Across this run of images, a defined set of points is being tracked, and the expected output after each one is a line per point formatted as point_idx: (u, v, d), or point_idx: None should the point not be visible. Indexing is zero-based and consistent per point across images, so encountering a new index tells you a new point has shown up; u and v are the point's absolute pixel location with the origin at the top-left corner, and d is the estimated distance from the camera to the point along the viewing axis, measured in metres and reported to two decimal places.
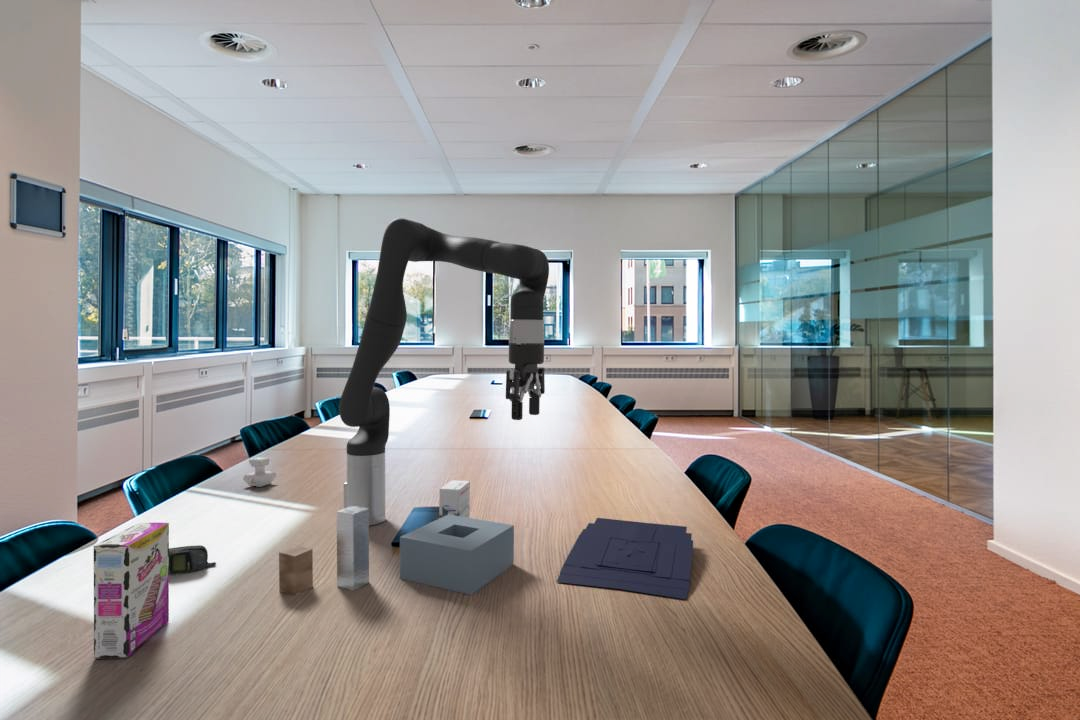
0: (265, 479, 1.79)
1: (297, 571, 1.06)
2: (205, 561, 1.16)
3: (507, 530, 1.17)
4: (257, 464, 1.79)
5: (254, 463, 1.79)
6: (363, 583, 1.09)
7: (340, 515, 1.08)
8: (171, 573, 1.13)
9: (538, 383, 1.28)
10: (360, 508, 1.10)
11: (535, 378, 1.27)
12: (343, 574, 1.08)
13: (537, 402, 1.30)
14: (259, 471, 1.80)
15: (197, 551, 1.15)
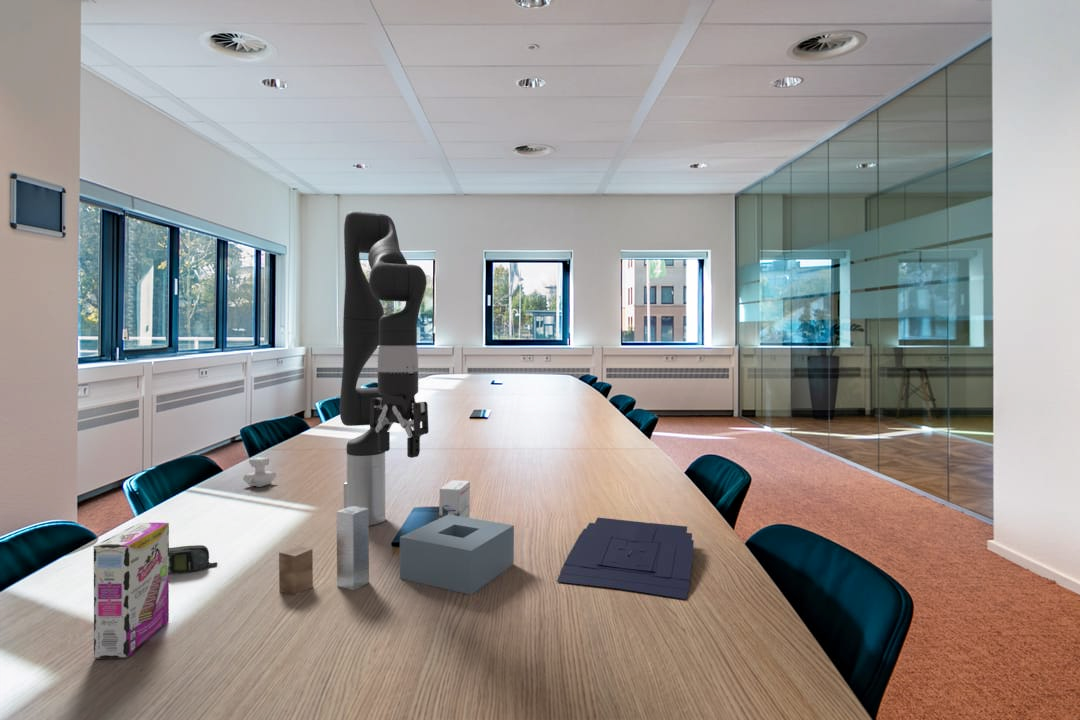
0: (265, 479, 1.79)
1: (297, 571, 1.06)
2: (206, 561, 1.16)
3: (507, 530, 1.17)
4: (257, 464, 1.79)
5: (254, 463, 1.79)
6: (363, 583, 1.09)
7: (339, 515, 1.08)
8: (172, 572, 1.14)
9: None
10: (359, 508, 1.10)
11: None
12: (343, 574, 1.08)
13: (388, 436, 1.16)
14: (259, 471, 1.80)
15: (198, 551, 1.15)
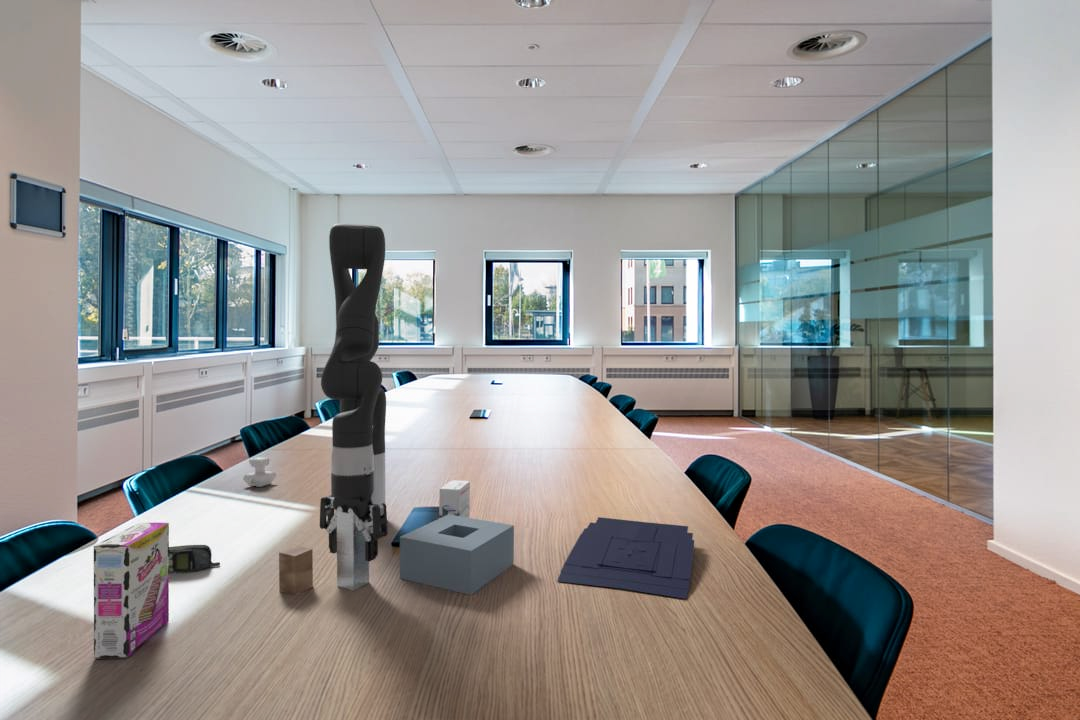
0: (265, 479, 1.79)
1: (297, 571, 1.06)
2: (208, 561, 1.16)
3: (507, 530, 1.17)
4: (257, 464, 1.79)
5: (254, 463, 1.79)
6: (363, 583, 1.09)
7: (340, 515, 1.08)
8: (175, 571, 1.14)
9: None
10: None
11: None
12: (343, 574, 1.08)
13: None
14: (259, 471, 1.80)
15: (199, 551, 1.15)
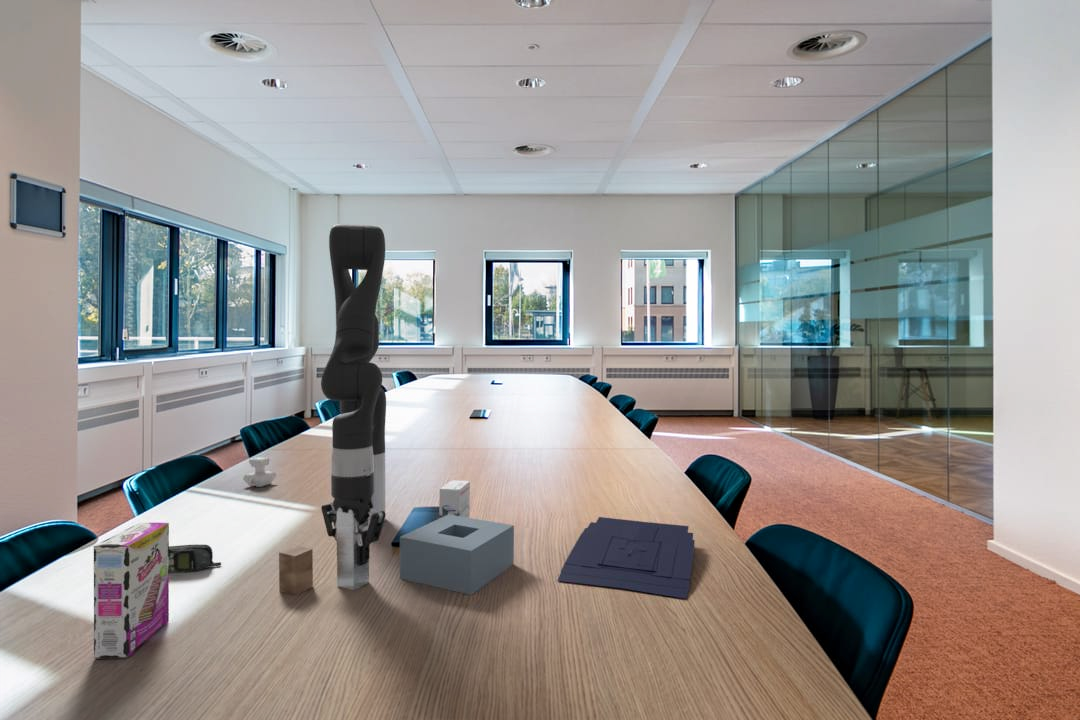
0: (265, 479, 1.79)
1: (297, 571, 1.06)
2: (209, 561, 1.16)
3: (507, 530, 1.17)
4: (257, 464, 1.79)
5: (254, 463, 1.79)
6: (363, 583, 1.09)
7: (340, 515, 1.08)
8: (176, 571, 1.15)
9: None
10: None
11: None
12: (343, 574, 1.08)
13: None
14: (259, 471, 1.80)
15: (200, 551, 1.15)
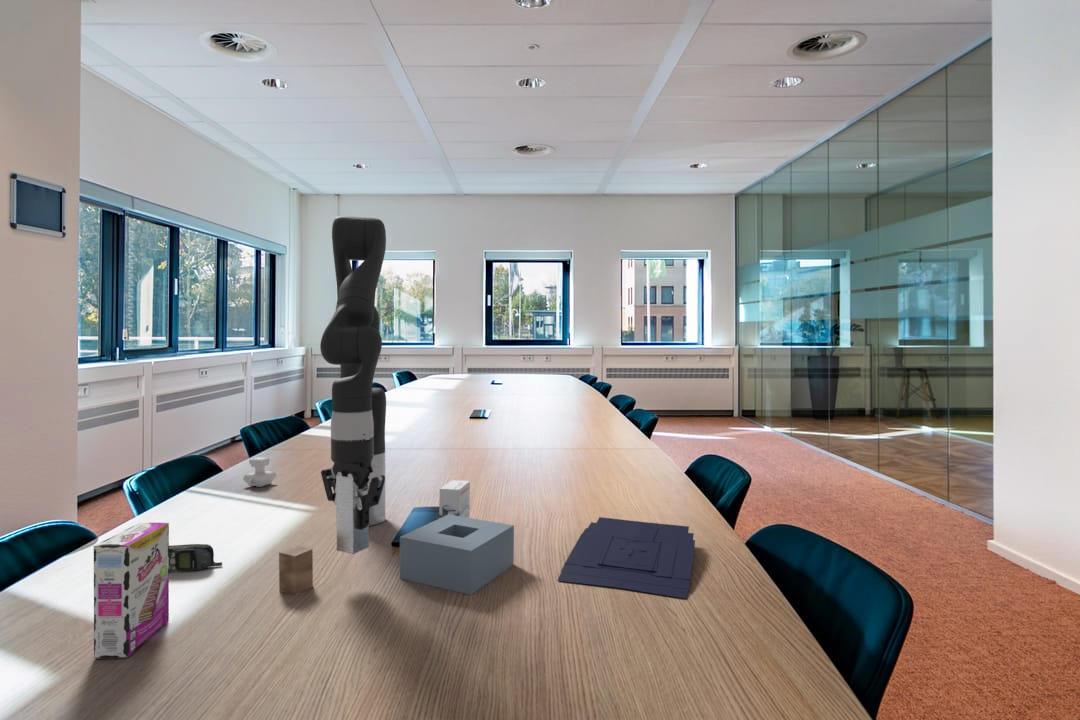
0: (265, 479, 1.79)
1: (297, 571, 1.06)
2: (209, 561, 1.16)
3: (507, 530, 1.17)
4: (257, 464, 1.79)
5: (254, 463, 1.79)
6: (363, 547, 1.10)
7: (339, 479, 1.08)
8: (177, 570, 1.15)
9: None
10: None
11: None
12: (343, 538, 1.08)
13: None
14: (259, 471, 1.80)
15: (201, 550, 1.15)
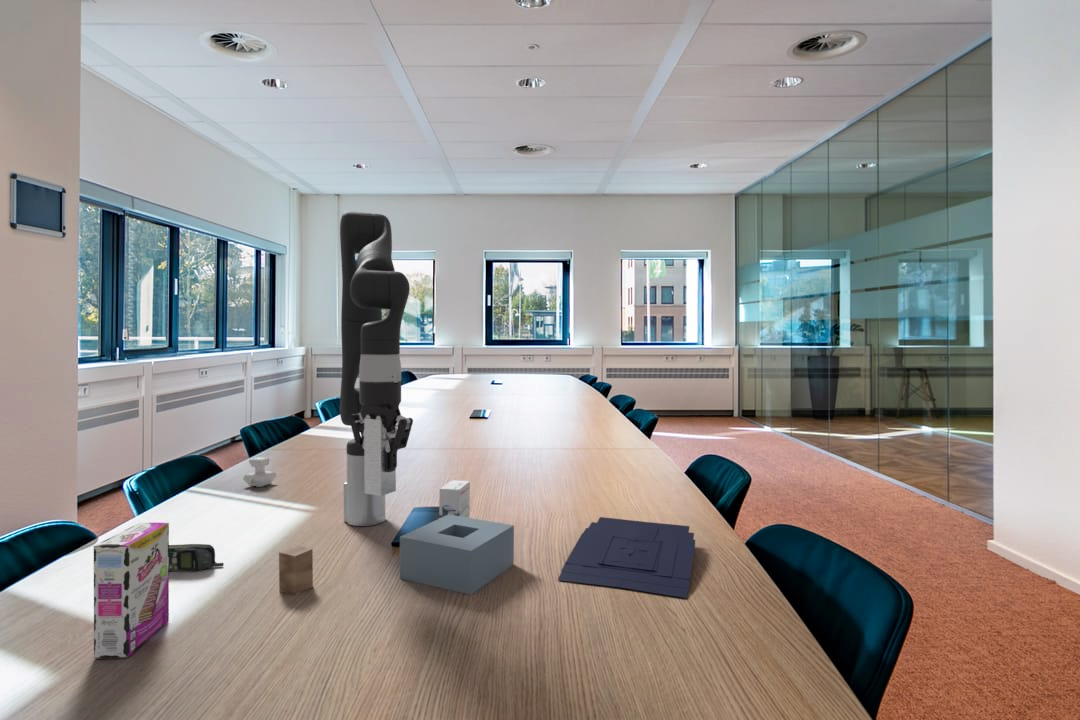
0: (265, 479, 1.79)
1: (297, 571, 1.06)
2: (210, 561, 1.16)
3: (507, 530, 1.17)
4: (257, 464, 1.79)
5: (254, 463, 1.79)
6: (390, 491, 1.10)
7: (367, 422, 1.09)
8: (179, 569, 1.15)
9: None
10: None
11: None
12: (371, 480, 1.09)
13: None
14: (259, 471, 1.80)
15: (202, 550, 1.15)
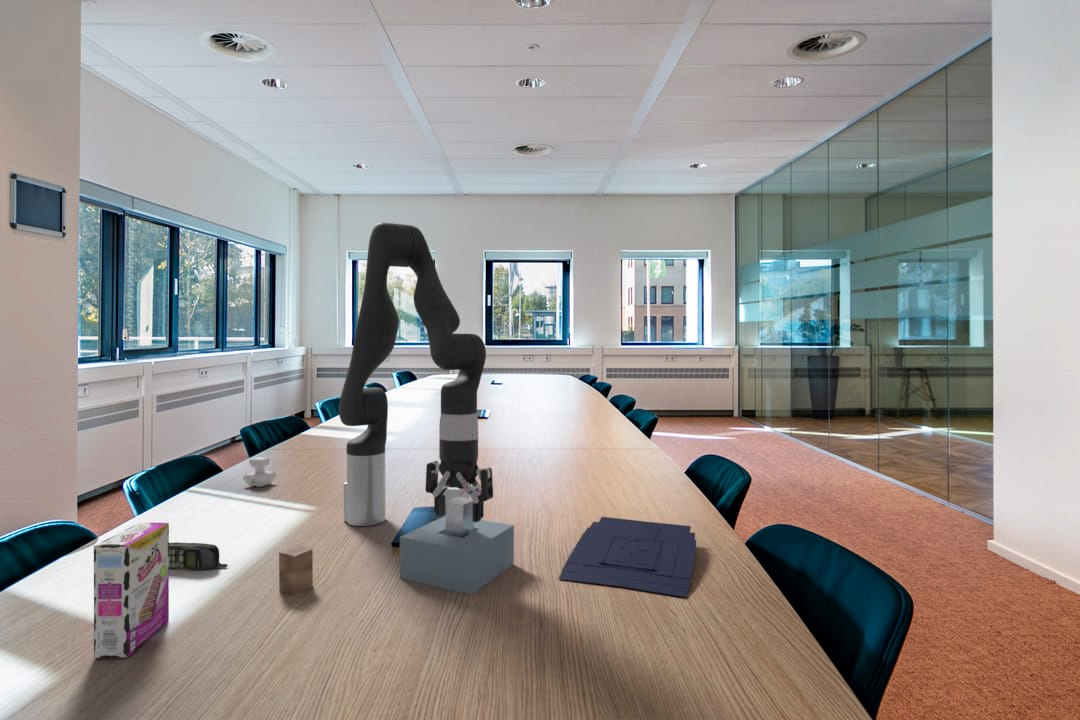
0: (265, 479, 1.79)
1: (297, 571, 1.06)
2: (213, 561, 1.16)
3: (507, 530, 1.17)
4: (257, 464, 1.79)
5: (254, 463, 1.79)
6: None
7: (449, 505, 1.14)
8: (185, 568, 1.16)
9: None
10: (466, 499, 1.16)
11: None
12: None
13: (444, 500, 1.18)
14: (259, 471, 1.80)
15: (205, 550, 1.15)
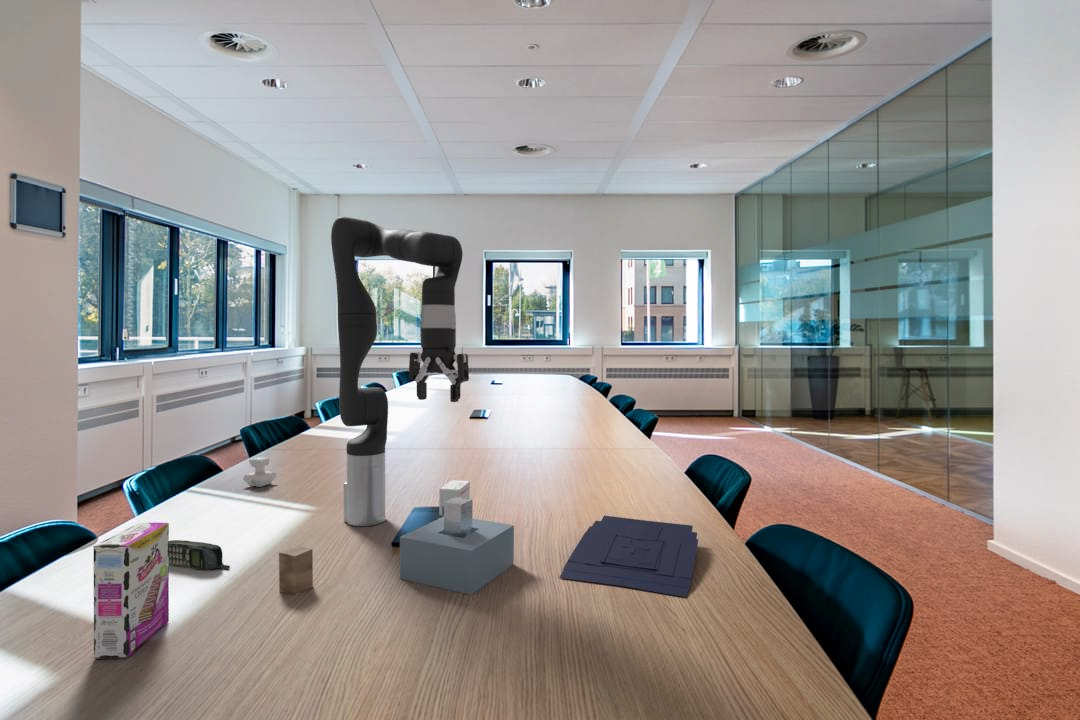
0: (266, 479, 1.79)
1: (297, 571, 1.06)
2: (215, 562, 1.15)
3: (507, 530, 1.17)
4: (257, 464, 1.79)
5: (254, 463, 1.79)
6: None
7: (447, 505, 1.15)
8: (190, 566, 1.17)
9: None
10: (464, 499, 1.17)
11: None
12: None
13: (426, 386, 1.32)
14: (259, 471, 1.80)
15: (208, 551, 1.15)
